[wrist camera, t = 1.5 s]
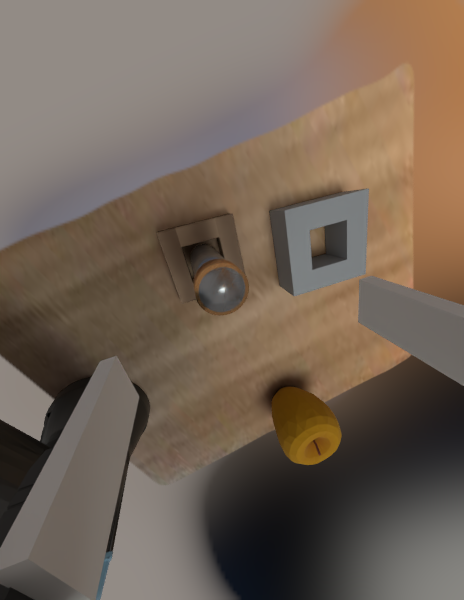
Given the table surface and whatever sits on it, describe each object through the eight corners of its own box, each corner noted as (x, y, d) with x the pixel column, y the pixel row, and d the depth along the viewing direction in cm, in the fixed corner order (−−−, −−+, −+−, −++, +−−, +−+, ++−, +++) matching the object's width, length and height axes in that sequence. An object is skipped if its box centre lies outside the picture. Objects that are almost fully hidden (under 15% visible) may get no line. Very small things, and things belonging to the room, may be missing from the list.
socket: (279, 286, 36) (294, 296, 32) (269, 210, 31) (284, 210, 27) (343, 266, 38) (365, 273, 33) (342, 191, 33) (368, 188, 28)
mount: (181, 297, 33) (181, 303, 31) (158, 231, 29) (156, 233, 27) (242, 279, 34) (247, 284, 32) (228, 213, 30) (232, 213, 28)
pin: (193, 276, 32) (203, 321, 19) (183, 246, 30) (187, 272, 17) (222, 268, 33) (253, 306, 19) (214, 237, 31) (242, 256, 17)
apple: (312, 370, 45) (358, 424, 34) (305, 408, 49) (344, 468, 38) (263, 378, 43) (294, 439, 31) (260, 417, 47) (287, 484, 35)
